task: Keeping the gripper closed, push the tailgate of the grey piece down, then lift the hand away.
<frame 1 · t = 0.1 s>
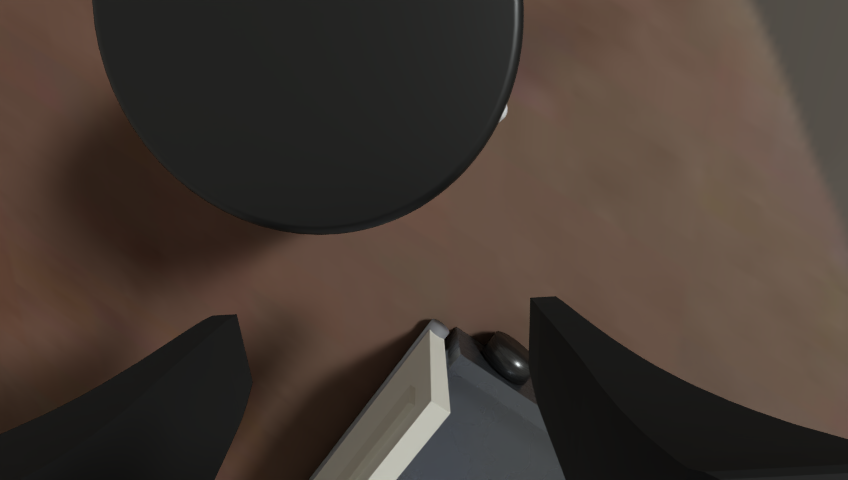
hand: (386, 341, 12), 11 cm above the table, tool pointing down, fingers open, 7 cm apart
jar: (373, 77, 21), on the table
tailgate: (347, 472, 21), point 3 cm above the table, hinge at 0.0°
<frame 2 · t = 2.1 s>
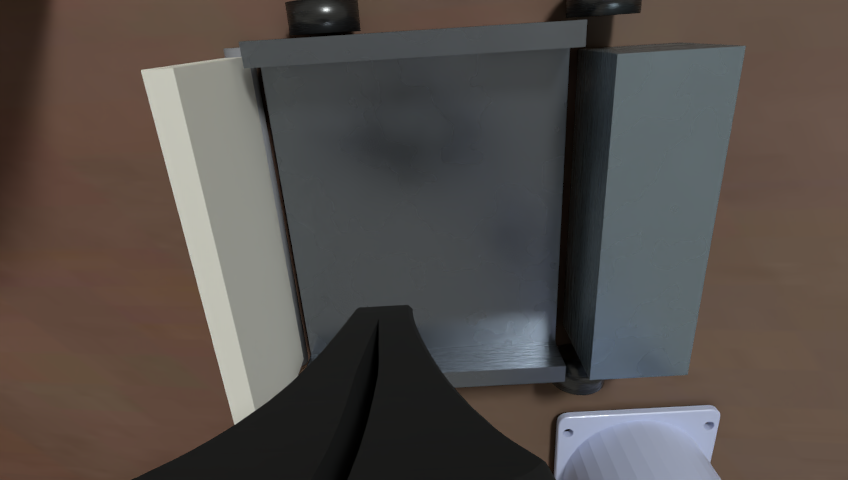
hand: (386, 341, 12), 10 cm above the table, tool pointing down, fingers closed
grey piece: (448, 209, 21), on the table
tailgate: (247, 253, 18), point 3 cm above the table, hinge at 0.0°
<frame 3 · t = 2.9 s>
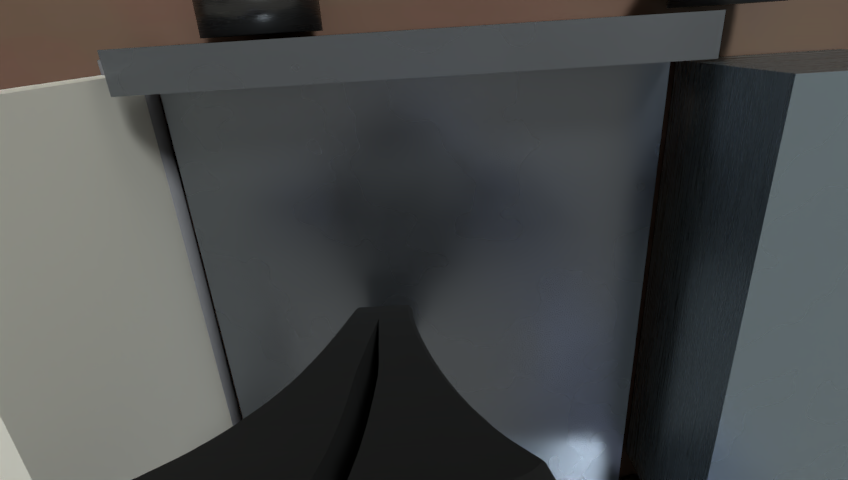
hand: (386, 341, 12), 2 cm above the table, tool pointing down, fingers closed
grey piece: (464, 298, 14), on the table
tailgate: (140, 395, 11), point 3 cm above the table, hinge at 0.0°
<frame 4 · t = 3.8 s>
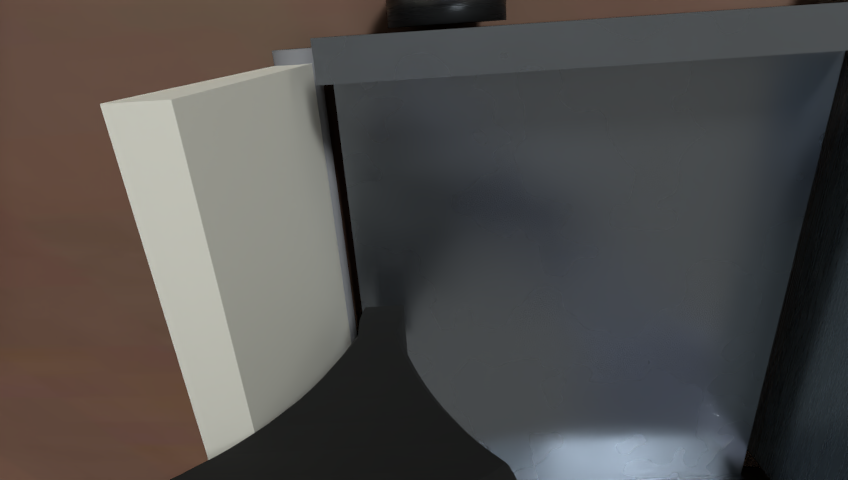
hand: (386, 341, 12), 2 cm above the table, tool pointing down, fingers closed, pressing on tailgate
grey piece: (598, 289, 14), on the table
tailgate: (305, 385, 11), point 3 cm above the table, hinge at 3.4°, touching gripper
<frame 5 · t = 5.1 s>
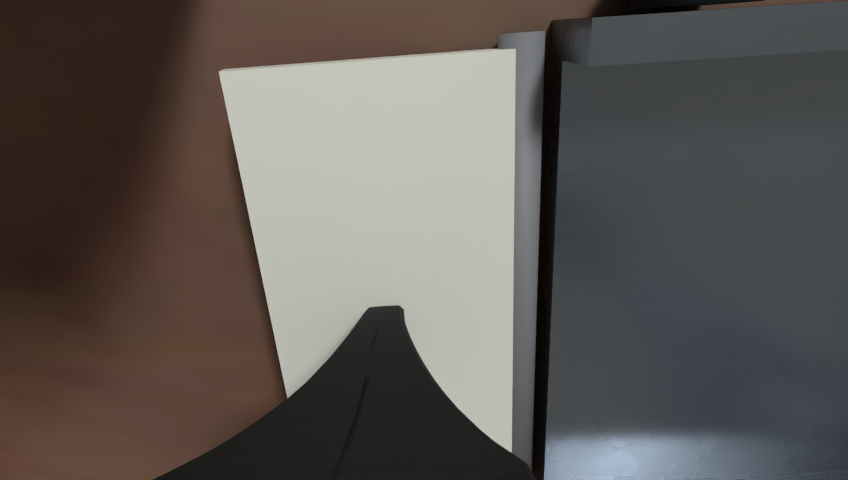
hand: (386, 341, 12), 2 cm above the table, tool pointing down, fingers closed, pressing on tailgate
grey piece: (777, 280, 14), on the table
tailgate: (413, 324, 13), point 1 cm above the table, hinge at 76.9°, touching gripper
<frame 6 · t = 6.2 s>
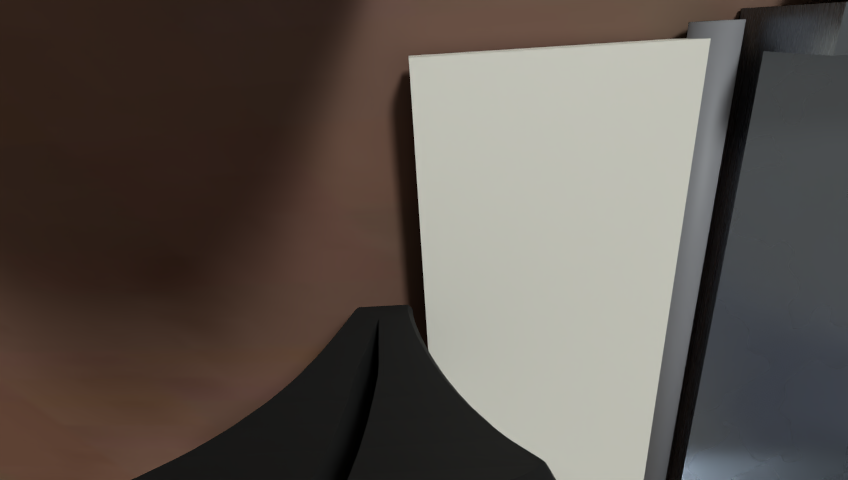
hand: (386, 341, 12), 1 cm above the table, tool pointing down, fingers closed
tailgate: (558, 320, 13), point 1 cm above the table, hinge at 88.5°
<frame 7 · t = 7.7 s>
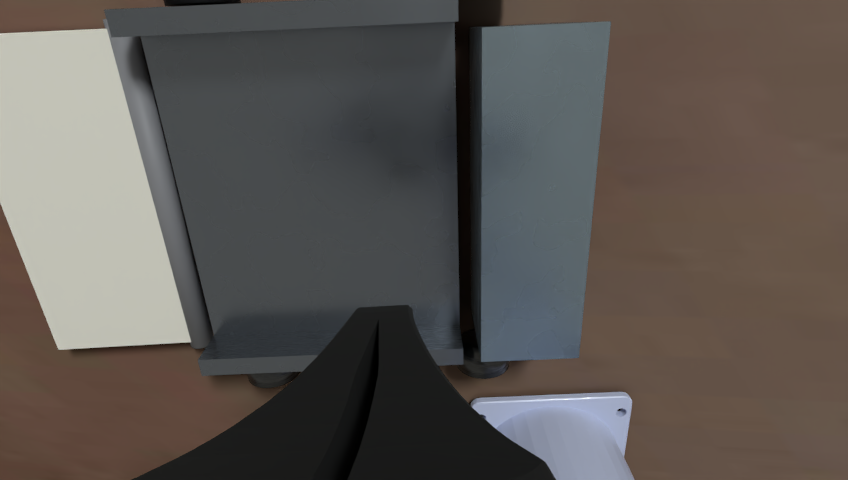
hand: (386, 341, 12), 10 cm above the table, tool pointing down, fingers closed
grey piece: (347, 189, 21), on the table
tailgate: (96, 204, 20), point 1 cm above the table, hinge at 88.6°
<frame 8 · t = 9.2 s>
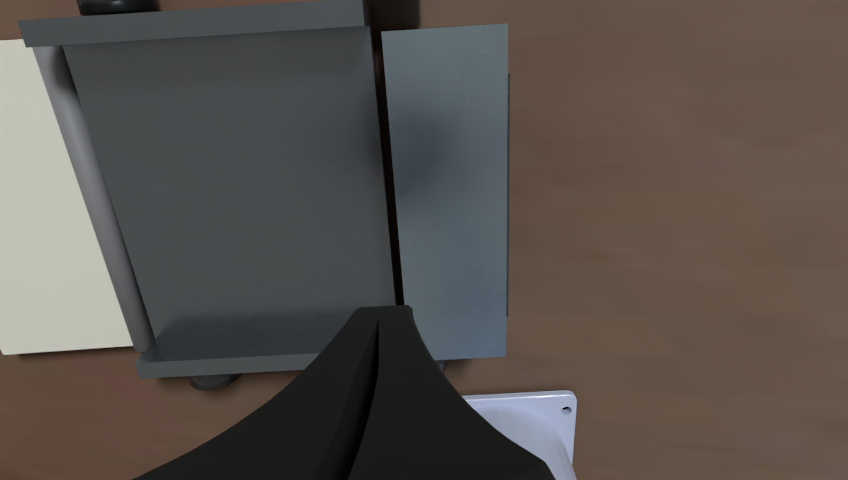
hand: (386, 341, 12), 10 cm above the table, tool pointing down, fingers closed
grey piece: (280, 192, 21), on the table
tailgate: (32, 211, 21), point 1 cm above the table, hinge at 88.6°
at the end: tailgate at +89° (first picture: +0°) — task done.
